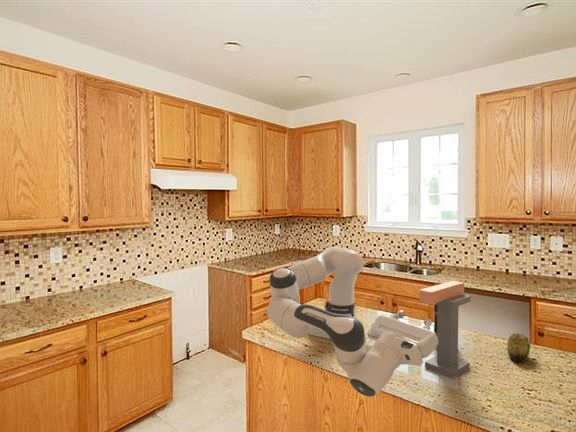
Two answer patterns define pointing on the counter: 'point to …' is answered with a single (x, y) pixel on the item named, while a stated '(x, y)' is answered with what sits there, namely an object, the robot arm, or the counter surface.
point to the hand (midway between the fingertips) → (415, 316)
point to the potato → (518, 347)
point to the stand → (448, 338)
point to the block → (441, 292)
